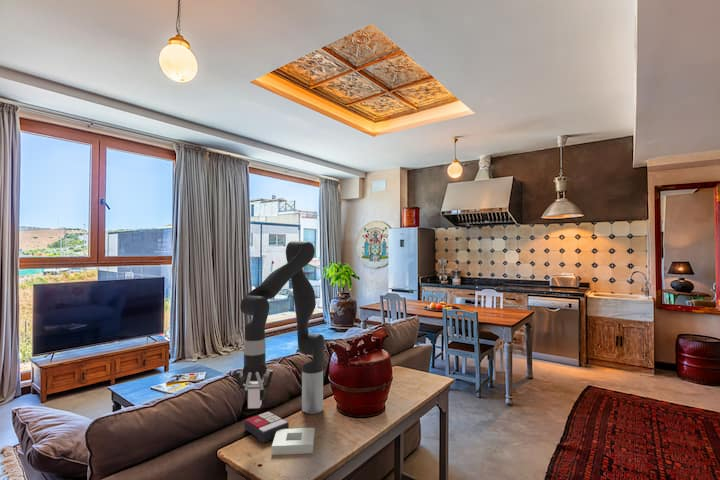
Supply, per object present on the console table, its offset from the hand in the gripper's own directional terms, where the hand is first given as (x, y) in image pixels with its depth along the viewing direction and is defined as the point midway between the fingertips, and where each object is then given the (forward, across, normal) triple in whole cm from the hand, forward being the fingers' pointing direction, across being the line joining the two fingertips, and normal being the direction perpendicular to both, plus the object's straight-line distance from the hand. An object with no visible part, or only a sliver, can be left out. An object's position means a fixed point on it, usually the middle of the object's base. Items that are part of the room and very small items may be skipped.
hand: (254, 399), depth 130 cm
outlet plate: (+17, -14, 0) cm, 22 cm away
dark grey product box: (+16, -2, -10) cm, 20 cm away
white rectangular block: (+2, 0, 0) cm, 2 cm away
